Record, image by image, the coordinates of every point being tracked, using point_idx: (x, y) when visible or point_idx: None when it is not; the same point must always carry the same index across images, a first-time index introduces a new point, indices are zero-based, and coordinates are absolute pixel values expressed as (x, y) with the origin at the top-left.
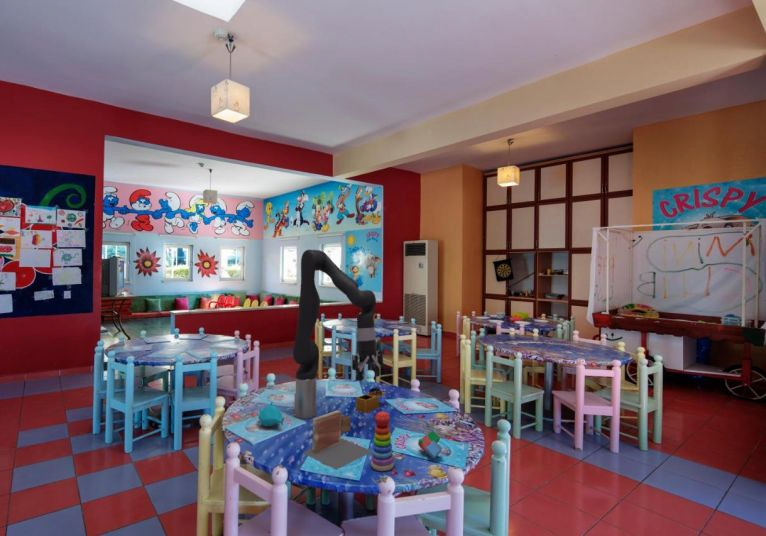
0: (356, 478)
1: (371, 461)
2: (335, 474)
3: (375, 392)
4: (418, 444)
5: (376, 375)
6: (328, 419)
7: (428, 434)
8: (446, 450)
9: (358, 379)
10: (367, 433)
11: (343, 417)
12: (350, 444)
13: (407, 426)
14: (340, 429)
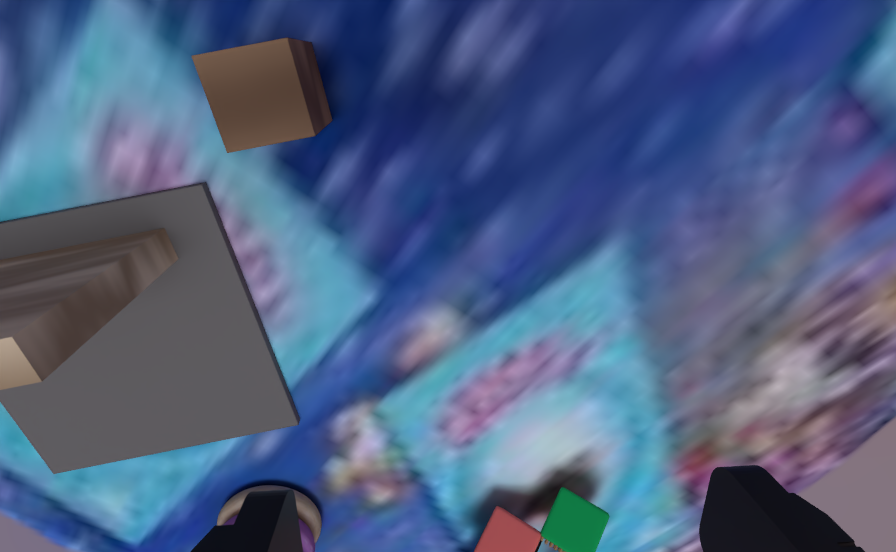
0: (128, 535)
1: (223, 514)
2: (48, 482)
3: None
4: (487, 524)
5: (716, 522)
6: None
7: (559, 547)
8: None
9: (248, 501)
10: (414, 216)
11: (250, 102)
12: (225, 308)
13: (675, 271)
14: (130, 298)
